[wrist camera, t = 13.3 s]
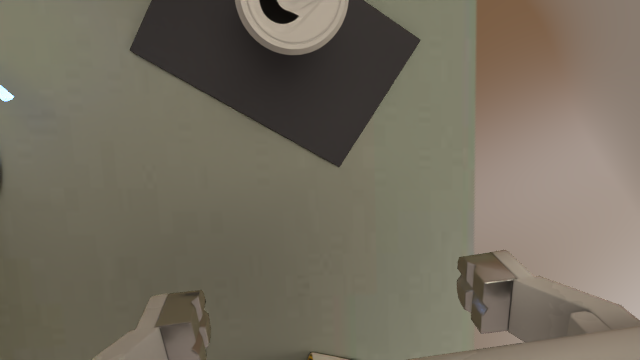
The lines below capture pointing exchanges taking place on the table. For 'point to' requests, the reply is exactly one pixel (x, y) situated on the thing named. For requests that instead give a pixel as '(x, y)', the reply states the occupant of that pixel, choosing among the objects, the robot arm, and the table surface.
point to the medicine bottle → (323, 357)
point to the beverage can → (292, 23)
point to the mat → (281, 69)
